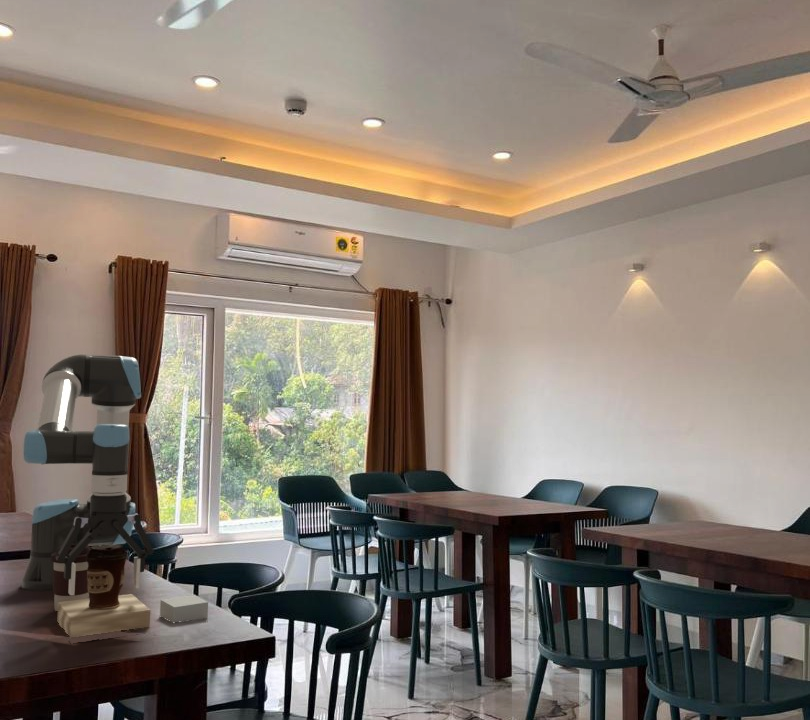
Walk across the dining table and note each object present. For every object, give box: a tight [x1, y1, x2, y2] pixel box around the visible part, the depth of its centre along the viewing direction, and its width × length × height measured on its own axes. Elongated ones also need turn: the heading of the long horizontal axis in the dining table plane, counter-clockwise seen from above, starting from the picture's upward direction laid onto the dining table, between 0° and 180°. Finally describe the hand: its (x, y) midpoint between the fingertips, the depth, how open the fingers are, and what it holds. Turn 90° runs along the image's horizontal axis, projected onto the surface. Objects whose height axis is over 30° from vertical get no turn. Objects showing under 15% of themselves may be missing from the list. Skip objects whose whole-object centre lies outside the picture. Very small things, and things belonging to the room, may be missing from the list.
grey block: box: [159, 594, 209, 623], centre depth 175 cm, size 8×8×5 cm
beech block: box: [56, 593, 151, 638], centre depth 168 cm, size 16×16×5 cm
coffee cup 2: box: [86, 544, 129, 609], centre depth 168 cm, size 9×8×13 cm
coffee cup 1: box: [51, 544, 91, 612], centre depth 184 cm, size 10×10×15 cm
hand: (104, 590), depth 169 cm, fingers open, 13 cm apart
